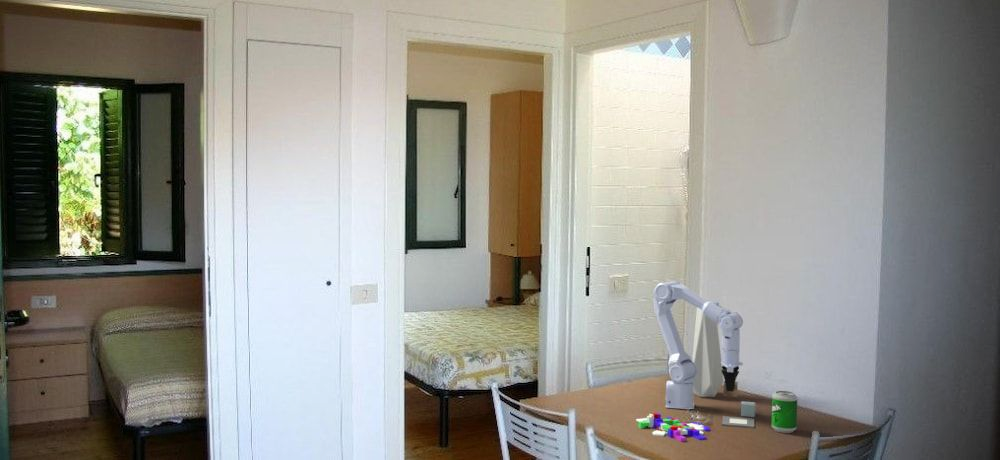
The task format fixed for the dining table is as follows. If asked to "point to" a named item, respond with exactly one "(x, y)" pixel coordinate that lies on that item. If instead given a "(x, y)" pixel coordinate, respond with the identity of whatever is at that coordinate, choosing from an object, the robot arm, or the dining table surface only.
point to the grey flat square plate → (738, 422)
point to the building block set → (673, 427)
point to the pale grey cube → (748, 409)
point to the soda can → (784, 411)
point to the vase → (706, 357)
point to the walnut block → (730, 393)
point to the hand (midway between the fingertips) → (729, 389)
